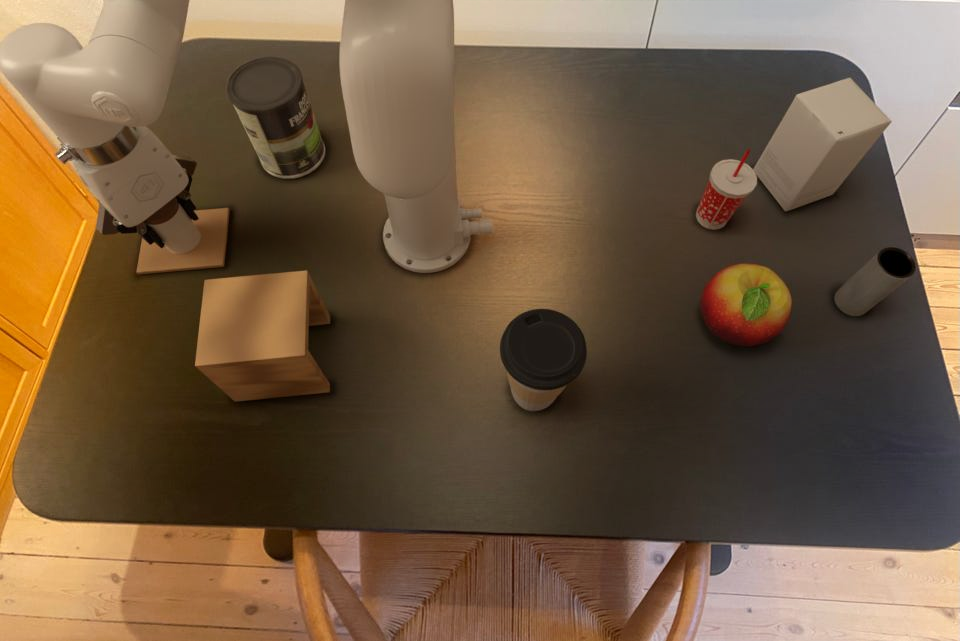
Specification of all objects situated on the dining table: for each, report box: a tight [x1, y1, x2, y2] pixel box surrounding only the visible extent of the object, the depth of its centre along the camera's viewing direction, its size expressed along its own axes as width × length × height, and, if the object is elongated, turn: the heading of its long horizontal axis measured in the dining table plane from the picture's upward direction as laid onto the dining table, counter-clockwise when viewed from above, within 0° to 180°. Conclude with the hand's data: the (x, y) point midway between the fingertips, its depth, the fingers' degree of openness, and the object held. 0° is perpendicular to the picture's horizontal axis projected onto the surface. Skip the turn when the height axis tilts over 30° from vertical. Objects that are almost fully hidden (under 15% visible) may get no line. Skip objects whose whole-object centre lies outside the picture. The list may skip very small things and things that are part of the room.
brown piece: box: [194, 270, 331, 403], centre depth 74 cm, size 12×11×12 cm
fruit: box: [699, 263, 793, 347], centre depth 77 cm, size 11×11×10 cm
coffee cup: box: [499, 308, 588, 412], centre depth 70 cm, size 9×9×15 cm
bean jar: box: [144, 196, 201, 254], centre depth 83 cm, size 5×5×8 cm
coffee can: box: [225, 56, 326, 180], centre depth 89 cm, size 10×10×14 cm
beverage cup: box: [695, 148, 758, 231], centre depth 83 cm, size 6×6×14 cm
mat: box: [135, 207, 231, 275], centre depth 87 cm, size 12×10×1 cm
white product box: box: [752, 77, 893, 212], centre depth 85 cm, size 9×9×15 cm
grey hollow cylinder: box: [833, 246, 917, 317], centre depth 78 cm, size 4×4×10 cm
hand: (173, 227), depth 85 cm, fingers closed on bean jar, 5 cm apart
